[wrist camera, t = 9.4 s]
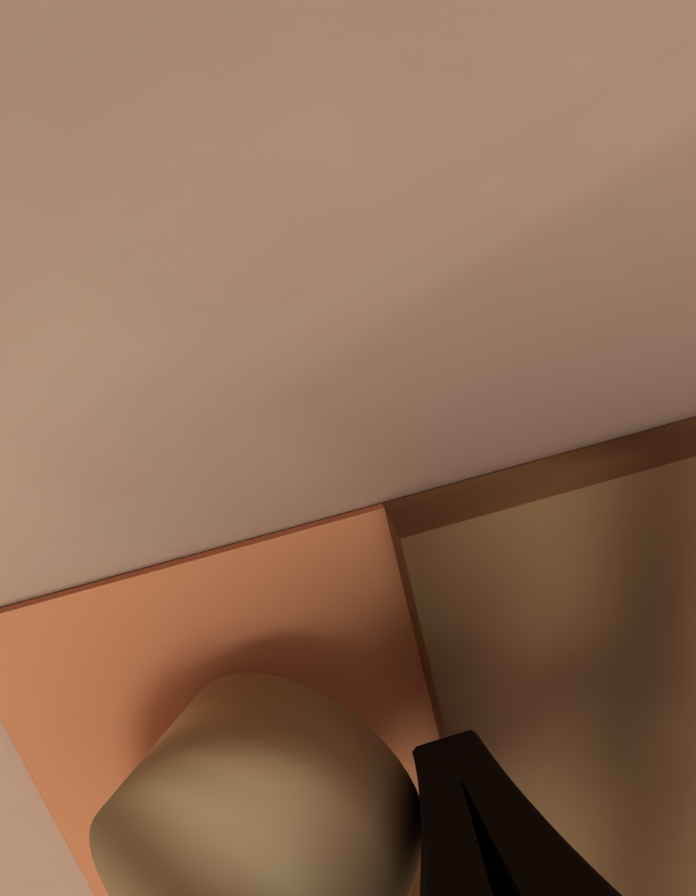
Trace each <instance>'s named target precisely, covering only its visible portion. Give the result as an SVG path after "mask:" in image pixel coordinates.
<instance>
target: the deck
mask: <svg viewBox="0 0 696 896" xmlns="http://www.w3.org/2000/svg"><path fill="white" fill-rule="evenodd" d="M382 504H383V506H384V509H385V513H386V517H387V521H388V525H389V530H390V534H391V538H392V542H393V546H394V551H395V555H396V559H397V563H398V567H399V571H400V576H401V580H402V584H403V588H404V592H405V596H406V601H407V605H408V609H409V613H410V617H411V622H412V626H413V630H414V634H415V638H416V642H417V647H418V651H419V655H420V659H421V663H422V667H423V672H424V676H425V680H426V684H427V688H428V693H429V697H430V701H431V705H432V709H433V713H434V718H435V722H436V726H437V730H438V734H439V738H440V739H442V738H445V737H448V736H452V735H455V734H458V733H462V732H465V731H468V730H472V731H474V732H476V733H477V734H478V736H479V737H480V739H481V740H482V742H483V743H484V745H485V746H486V747H487V749H488V750H489V752H490V753H491V754H492V756H493V757H494V758H495V760H496V761H497V762H498V764H499V765H500V766H501V767H502V769H503V770H504V771H505V772H506V774H507V775H508V776H509V777H510V779H511V780H512V781H513V782H514V784H515V785H516V786H517V787H518V788H519V789H520V791H521V792H522V793H523V794H524V795H525V796H526V798H527V799H528V800H529V801H530V802H531V803H532V804H533V805H534V807H535V808H536V809H537V810H538V811H539V812H540V813H541V814H542V815H543V816H544V818H545V819H546V820H547V821H548V822H549V823H550V824H551V825H552V826H553V828H554V829H555V830H556V831H557V832H558V833H559V834H560V835H561V836H562V837H563V838H564V839H565V840H566V841H567V842H568V843H569V844H570V845H571V846H572V847H573V848H574V849H575V850H576V851H577V852H578V853H579V854H580V855H581V856H582V857H583V858H584V859H585V860H586V861H587V862H588V863H589V864H590V865H591V866H592V867H593V868H594V869H595V870H596V871H597V872H598V873H599V874H600V875H601V876H602V877H603V878H604V879H605V880H606V881H607V882H608V883H609V884H610V885H612V886H613V887H614V888H615V889H616V890H617V891H618V892H619V893H620V894H621V895H622V896H696V417H694V418H691V419H687V420H683V421H680V422H676V423H672V424H669V425H665V426H662V427H658V428H654V429H651V430H647V431H643V432H640V433H636V434H632V435H629V436H625V437H621V438H618V439H614V440H611V441H607V442H603V443H600V444H596V445H592V446H589V447H585V448H581V449H578V450H574V451H570V452H567V453H563V454H560V455H556V456H552V457H549V458H545V459H541V460H538V461H534V462H530V463H527V464H523V465H520V466H516V467H512V468H509V469H505V470H501V471H498V472H494V473H490V474H487V475H483V476H479V477H476V478H472V479H469V480H465V481H461V482H458V483H454V484H450V485H447V486H443V487H439V488H436V489H432V490H428V491H425V492H421V493H418V494H414V495H410V496H407V497H403V498H399V499H396V500H392V501H388V502H385V503H382Z"/></svg>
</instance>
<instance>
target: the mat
mask: <svg viewBox="0 0 696 896" xmlns="http://www.w3.org/2000/svg"><path fill="white" fill-rule="evenodd" d="M241 672H254V673H263V674H270V675H275V676H278V677H282V678H286V679H289V680H292V681H295V682H297V683H300V684H303V685H305V686H307V687H309V688H311V689H313V690H316V691H318V692H320V693H322V694H324V695H325V696H327V697H329V698H330V699H332V700H334V701H335V702H337V703H339V704H340V705H342V706H343V707H344V708H346V709H347V710H348V711H350V712H351V713H353V714H354V715H355V716H357V717H358V718H359V719H360V720H361V721H363V722H364V723H365V724H366V725H367V726H368V727H370V728H371V729H372V730H373V731H374V732H375V733H376V734H377V735H378V736H379V737H380V738H381V739H382V740H383V741H384V742H385V743H386V744H387V746H388V747H389V748H390V749H391V751H392V752H393V753H394V754H395V755H396V757H397V758H398V759H399V761H400V762H401V764H402V765H403V767H404V768H405V770H406V771H407V773H408V774H409V776H410V778H411V780H412V782H413V783H414V785H415V787H416V789H417V792H418V794H419V789H418V780H417V773H416V767H415V762H414V758H413V754H412V752H413V750H414V749H415V747H416V746H419V745H422V744H425V743H429V742H432V741H435V740H438V739H440V738H439V734H438V730H437V726H436V722H435V718H434V713H433V709H432V705H431V701H430V697H429V693H428V688H427V684H426V680H425V676H424V672H423V667H422V663H421V659H420V655H419V651H418V647H417V642H416V638H415V634H414V630H413V626H412V622H411V617H410V613H409V609H408V605H407V601H406V596H405V592H404V588H403V584H402V580H401V576H400V571H399V567H398V563H397V559H396V555H395V551H394V546H393V542H392V538H391V534H390V530H389V525H388V521H387V517H386V513H385V509H384V506H383V504H382V503H381V504H378V505H374V506H370V507H367V508H363V509H359V510H356V511H352V512H349V513H345V514H341V515H338V516H334V517H330V518H327V519H323V520H319V521H316V522H312V523H308V524H305V525H301V526H298V527H294V528H290V529H287V530H283V531H279V532H276V533H272V534H268V535H265V536H261V537H257V538H254V539H250V540H247V541H243V542H239V543H236V544H232V545H228V546H225V547H221V548H217V549H214V550H210V551H206V552H203V553H199V554H196V555H192V556H188V557H185V558H181V559H177V560H174V561H170V562H166V563H163V564H159V565H155V566H152V567H148V568H145V569H141V570H137V571H134V572H130V573H126V574H123V575H119V576H115V577H112V578H108V579H104V580H101V581H97V582H94V583H90V584H86V585H83V586H79V587H75V588H72V589H68V590H64V591H61V592H57V593H53V594H50V595H46V596H43V597H39V598H35V599H32V600H28V601H24V602H21V603H17V604H13V605H10V606H6V607H3V608H0V720H1V722H2V723H3V725H4V727H5V729H6V731H7V733H8V735H9V737H10V738H11V740H12V742H13V744H14V746H15V748H16V750H17V752H18V753H19V755H20V757H21V759H22V761H23V763H24V765H25V767H26V768H27V770H28V772H29V774H30V776H31V778H32V780H33V782H34V783H35V785H36V787H37V789H38V791H39V793H40V795H41V797H42V798H43V800H44V802H45V804H46V806H47V808H48V810H49V812H50V813H51V815H52V817H53V819H54V821H55V823H56V825H57V827H58V828H59V830H60V832H61V834H62V836H63V838H64V840H65V842H66V843H67V845H68V847H69V849H70V851H71V853H72V855H73V857H74V858H75V860H76V862H77V864H78V866H79V868H80V870H81V872H82V873H83V875H84V877H85V879H86V881H87V883H88V885H89V887H90V888H91V890H92V892H93V894H94V896H109V894H108V893H107V891H106V889H105V887H104V885H103V883H102V881H101V879H100V877H99V875H98V873H97V870H96V867H95V865H94V862H93V858H92V854H91V851H90V842H89V833H90V826H91V823H92V820H93V818H94V817H95V815H96V814H97V813H98V811H99V810H100V809H101V808H102V807H103V805H104V804H105V803H106V802H107V801H108V799H109V798H110V797H111V796H112V795H113V794H114V792H115V791H116V790H117V789H118V788H119V786H120V785H121V784H122V783H123V782H124V780H125V779H126V778H127V777H128V776H129V775H130V773H131V772H132V771H133V770H134V769H135V767H136V766H137V765H138V764H139V763H140V762H141V760H142V759H143V758H144V757H145V756H146V754H147V753H148V752H149V751H150V750H151V749H152V747H153V746H154V745H155V744H156V743H157V741H158V740H159V739H160V738H161V737H162V735H163V734H164V733H165V732H166V731H167V730H168V728H169V727H170V726H171V725H172V724H173V722H174V721H175V720H176V719H177V718H178V717H179V715H180V714H181V713H182V712H183V711H184V709H185V708H186V707H187V706H188V705H189V704H190V702H191V701H192V700H193V699H194V698H195V696H196V695H197V694H198V693H199V692H200V690H201V689H202V688H204V687H205V686H206V685H207V684H208V683H209V682H211V681H213V680H215V679H217V678H218V677H222V676H225V675H228V674H233V673H241Z"/></svg>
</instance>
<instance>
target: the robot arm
mask: <svg viewBox="0 0 696 896" xmlns="http://www.w3.org/2000/svg"><path fill="white" fill-rule="evenodd" d="M412 754H413V758H414V762H415V767H416V773H417V780H418V789H419V802H420V821H421V877H420V896H622V895H621V894H620V893H619V892H618V891H617V890H616V889H615V888H614V887H613V886H612V885H610V884H609V883H608V882H607V881H606V880H605V879H604V878H603V877H602V876H601V875H600V874H599V873H598V872H597V871H596V870H595V869H594V868H593V867H592V866H591V865H590V864H589V863H588V862H587V861H586V860H585V859H584V858H583V857H582V856H581V855H580V854H579V853H578V852H577V851H576V850H575V849H574V848H573V847H572V846H571V845H570V844H569V843H568V842H567V841H566V840H565V839H564V838H563V837H562V836H561V835H560V834H559V833H558V832H557V831H556V830H555V829H554V828H553V826H552V825H551V824H550V823H549V822H548V821H547V820H546V819H545V818H544V816H543V815H542V814H541V813H540V812H539V811H538V810H537V809H536V808H535V807H534V805H533V804H532V803H531V802H530V801H529V800H528V799H527V798H526V796H525V795H524V794H523V793H522V792H521V791H520V789H519V788H518V787H517V786H516V785H515V784H514V782H513V781H512V780H511V779H510V777H509V776H508V775H507V774H506V772H505V771H504V770H503V769H502V767H501V766H500V765H499V764H498V762H497V761H496V760H495V758H494V757H493V756H492V754H491V753H490V752H489V750H488V749H487V747H486V746H485V745H484V743H483V742H482V740H481V739H480V737H479V736H478V734H477V733H476V732H474V731H472V730H468V731H465V732H462V733H458V734H455V735H452V736H448V737H445V738H442V739H438V740H435V741H432V742H429V743H425V744H422V745H419V746H416V747H415V749H414V750H413V752H412Z"/></svg>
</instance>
